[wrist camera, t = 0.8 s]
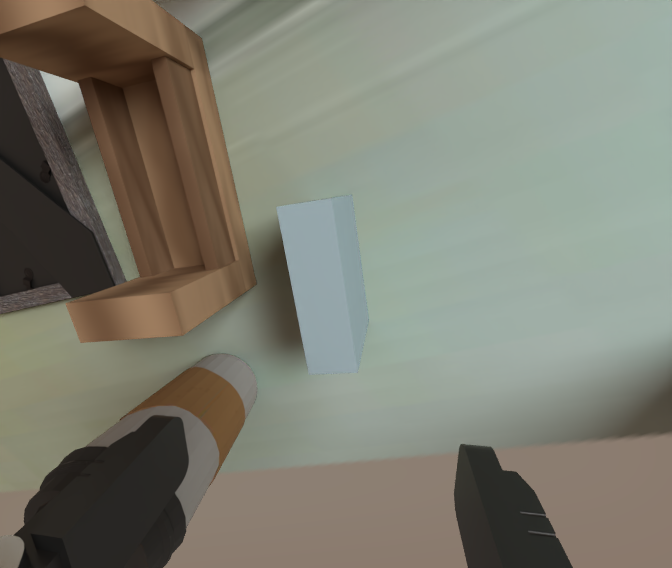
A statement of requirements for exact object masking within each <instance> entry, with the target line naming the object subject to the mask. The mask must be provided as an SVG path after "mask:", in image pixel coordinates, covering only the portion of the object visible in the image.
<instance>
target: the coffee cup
mask: <svg viewBox="0 0 672 568" xmlns="http://www.w3.org/2000/svg"><path fill="white" fill-rule="evenodd" d="M256 397H257V382H256V377H255V375H254V373H253V371H252V369H251V368H250V367H249V366H248V365H247V364H246V363H245V362H244V361H242V360H241V359H240V358H237V357H235V356H233V355H229V354H214V355H210V356H207V357H205V358H204V359H202V360H201V361H199V362H198V363H197V364H195V365H194V366H193V367H191V368H189V369H187V370H186V371H184V372H183V373H182V374H180V375H179V376H178V377H176V378H175V379H174V380H172V381H171V382H169V383H168V384H167V385H165V386H164V387H163V388H161V389H160V390H159V391H157V392H156V393H155V394H153V395H152V396H151V397H149V398H148V399H146V400H145V401H144V402H142V403H141V404H140V405H138V406H137V407H136V408H134V409H133V410H132V411H130V412H129V413H128V414H126V415H125V416H124V417H122V418H121V419H120V421H119V422H118V423H116V424H115V425H114V426H112V427H111V428H110V429H108V430H107V431H106V432H104V433H103V434H102V435H100V436H99V437H98V438H96V439H95V440H94V441H92V442H91V443H90V444H88V445H87V446H86V447H84V448H81V449H77V450H74V451H73V452H72V453H70V454H69V455H68V456H66V457H65V458H64V459H63V461H62V462H61V463H60V464H59V466H58V467H56V468H55V469H54V470H52V471H51V472H50V473H49V474H48V475H47V476H46V477H45V479H44V481H43V482H42V484H41V486H40V491H39V492H38V493H37V494H36V495H35V496H34V497H33V498H32V499H31V500H30V501H29V503H28V505H27V507H26V508H25V513H24V523H25V524H26V523H27V522H29V521H30V520H31V519H32V518H33V517H34V516H35V515H36V514H37V513H38V512H39V511H40V510H41V509H42V508H44V507H45V506H46V505H47V504H48V503H49V502H50V501H51V500H52V499H53V498H54V497H55V496H56V495H57V494H58V493H60V492H61V491H62V490H63V489H64V488H65V487H66V486H67V485H68V484H69V483H70V482H71V481H72V480H73V479H75V478H76V477H77V476H80V474H81V472H82V471H83V470H84V469H85V468H86V467H87V466H88V465H90V464H91V463H94V461H95V459H96V458H97V457H98V456H99V455H100V454H101V453H102V452H103V451H104V450H106V449H107V448H108V447H109V446H110V445H111V444H112V443H114V442H116V441H117V440H119V439H120V438H122V437H124V436H125V435H127V434H129V433H130V432H135V431H136V430H137V429H138V428H139V427H140V426H141V425H142V424H143V423H144V422H145V421H146V420H147V419H148V418H150V417H151V416H153V415H164V416H175V417H180V418H181V419H182V421H183V425H184V431H185V437H186V443H187V449H188V455H189V465H188V470H187V473H186V476H185V478H184V480H183V482H182V483H181V485H180V486H179V488H178V489H177V491H176V492H175V493H174V495H173V496H172V498H171V499H170V501H169V502H168V504H167V505H166V507H165V508H164V509H163V511H162V512H161V514H160V515H159V517H158V518H157V520H156V521H155V523H154V524H153V525H152V527H151V528H150V530H149V531H148V533H147V534H146V536H145V537H144V539H143V540H142V541H141V543H140V544H139V546H138V547H137V549H136V550H135V552H134V553H133V555H132V556H131V557H130V559H129V560H128V562H127V563H126V565H125V566H124V568H163V567H164V566H165V565H166V564H167V562H168V561H169V560H170V557H171V555H172V553H173V552H174V551H175V550H176V549H177V548H178V547H179V546H180V544H181V543H182V542H183V539H184V536H185V533H186V528H187V526H188V523H189V522H190V520H191V518H192V517H193V515H194V513H195V511H196V509H197V507H198V505H199V504H200V502H201V500H202V498H203V496H204V494H205V493H206V491H207V489H208V487H209V486H210V485H211V483H212V482H213V480H214V479H215V477H216V475H217V473H218V471H219V469H220V468H221V466H222V464H223V462H224V460H225V458H226V456H227V455H228V453H229V451H230V449H231V447H232V445H233V443H234V442H235V440H236V438H237V436H238V434H239V432H240V430H241V428H242V427H243V425H244V422H245V419H246V417H247V415H248V414H249V412H250V410H251V408H252V406H253V404H254V402H255V400H256Z"/></svg>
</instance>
